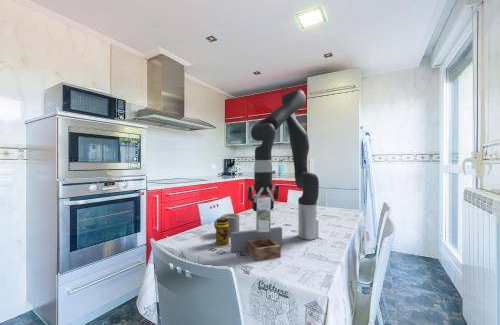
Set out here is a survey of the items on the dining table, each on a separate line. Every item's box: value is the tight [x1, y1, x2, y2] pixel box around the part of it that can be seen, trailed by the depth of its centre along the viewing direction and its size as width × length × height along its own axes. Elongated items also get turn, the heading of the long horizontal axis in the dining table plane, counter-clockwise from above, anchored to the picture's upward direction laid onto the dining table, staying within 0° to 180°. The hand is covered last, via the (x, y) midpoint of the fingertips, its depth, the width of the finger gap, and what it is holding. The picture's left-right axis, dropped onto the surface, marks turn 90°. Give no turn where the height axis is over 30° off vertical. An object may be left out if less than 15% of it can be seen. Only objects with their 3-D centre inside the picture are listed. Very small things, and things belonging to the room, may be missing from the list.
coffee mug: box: [213, 213, 240, 238], centre depth 121 cm, size 13×10×10 cm
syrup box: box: [255, 195, 272, 233], centre depth 95 cm, size 6×6×14 cm
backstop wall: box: [230, 226, 283, 253], centre depth 101 cm, size 24×2×8 cm, turn 110°
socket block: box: [246, 238, 282, 262], centre depth 95 cm, size 11×11×4 cm
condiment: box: [210, 217, 231, 248], centre depth 107 cm, size 7×8×12 cm
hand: (263, 210), depth 95 cm, fingers closed on syrup box, 6 cm apart
